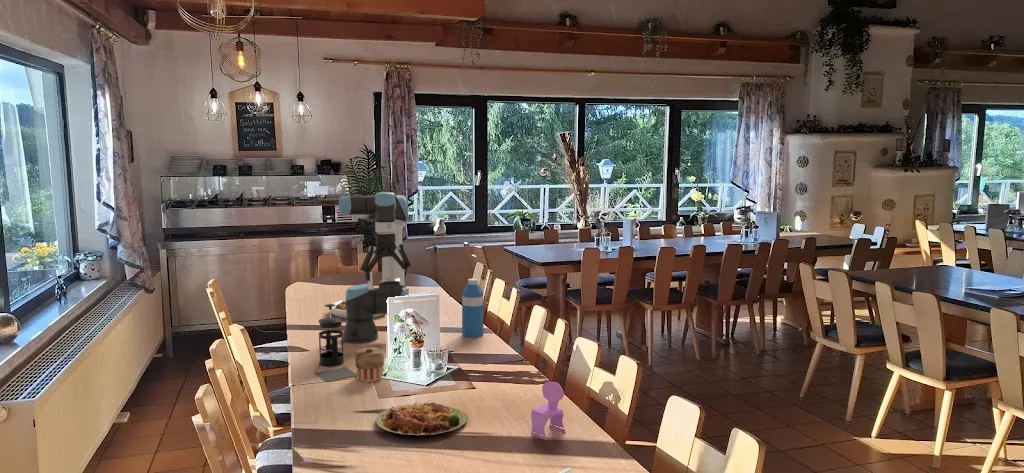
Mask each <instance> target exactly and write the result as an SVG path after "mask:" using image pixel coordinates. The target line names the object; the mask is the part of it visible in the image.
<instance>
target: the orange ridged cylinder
mask: <svg viewBox="0 0 1024 473" xmlns="http://www.w3.org/2000/svg"><path fill="white" fill-rule="evenodd" d="M383 367H384V366H382V367H380V368H376V369H360V368H357V367H356V374H357V376H356V378H357V380H358V381H359V382H362V383H373V382H374V383H375V382H379V381H380V380H381V379H382V377H383V375H384V372H383Z"/></svg>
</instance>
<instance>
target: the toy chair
mask: <svg viewBox="0 0 1024 473" xmlns="http://www.w3.org/2000/svg"><path fill="white" fill-rule="evenodd" d="M541 392H542V396H543V398H544V399H546V400H547V402H548V403H547V404H544V405H542V406H538V407H536V408H533V409H531V413H530V418H531V419H530V420H531V433H530V435H532V436H535V437H536V438H540V439H542V440H545V441H548V436H547V435H546V432H545V427H546V424H547V422H548V421H549V419H550V422H549V428H551V429H553V430H557V431H559V432H562V433H564V434H566V430H565V429H566V428H565V426H564V424H563V423H564V422H563V419H564V410H563V409H561V408H559V407H558V405H559V402H560V401H561V400H562V399H564V396H565V392H564V390H563V388H562V386H561V385H560V384H559V382H556V381H547V382H545V383H543V384H542V387H541ZM551 424H552V425H551ZM554 425H555V426H554ZM556 426H558V427H556ZM559 427H562V428H564V429H561V428H559ZM534 432H535V433H534ZM540 434H541V435H540ZM542 435H543V436H542ZM545 436H546V437H545Z"/></svg>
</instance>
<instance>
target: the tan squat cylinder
mask: <svg viewBox="0 0 1024 473" xmlns="http://www.w3.org/2000/svg"><path fill="white" fill-rule="evenodd" d="M384 353H385V351H384V349H382V348H379V347H364V348H360V349H359V348H358V349H357V350H355V353H354V355H355V356H354V358H355V359H354V360H355V367H356V369H357V368H360V369H376V368H380V367H384V365H385V354H384Z"/></svg>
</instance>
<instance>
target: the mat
mask: <svg viewBox="0 0 1024 473" xmlns="http://www.w3.org/2000/svg"><path fill="white" fill-rule="evenodd" d="M314 374H315V375H316V376H318V377H319V378H321V379H322V380H324V382H326V383H330V382H335V381H340V380H346V379H350V378H357V372H355V371H353V370H351V369H349V368H348V367H346V366H343V367H337V368H332V369H327V370H322V371H321V370H320V371H316V372H314Z"/></svg>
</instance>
